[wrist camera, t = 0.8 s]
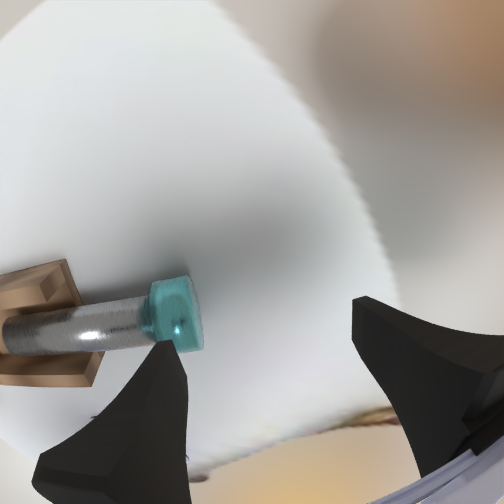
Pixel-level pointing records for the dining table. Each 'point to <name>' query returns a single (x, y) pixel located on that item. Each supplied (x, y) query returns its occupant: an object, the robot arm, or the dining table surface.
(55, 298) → the housing
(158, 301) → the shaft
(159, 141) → the dining table surface
